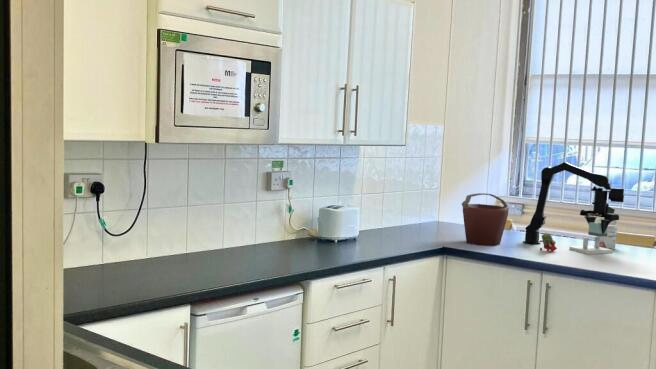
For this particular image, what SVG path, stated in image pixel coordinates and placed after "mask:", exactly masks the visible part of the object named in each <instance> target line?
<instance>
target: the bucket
mask: <svg viewBox="0 0 656 369" xmlns="http://www.w3.org/2000/svg"><path fill="white" fill-rule="evenodd" d="M482 195H483V196H490V197H493V198H495V199H496V200H498V201H500V203H501V204H502V206H501V205H495V204H482V203H481V204H480V203H470V202H471V199H472V198H473V197H476V196H482ZM461 207H462V215H463V216H462V217H463V226H464V233H465V242H466V244H469V245H473V246H474V245H475V246H478V247H481V246H482V247H496V246H499V245H501V241H502V239H503V235H504V231H505V227H506V224H507V220H508V217H509V208H508V204H507V203H506V201H505V200H504V199H502V198H500V197H499V196H496V195H494V194H492V193H485V192H484V193H481V192H480V193H478V192H477V193H471V194H468V195H466V197H465V200H464V201H463V202H461Z"/></svg>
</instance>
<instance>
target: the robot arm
mask: <svg viewBox="0 0 656 369" xmlns="http://www.w3.org/2000/svg"><path fill="white" fill-rule="evenodd" d="M564 171H566V172H569V173H571V174H573V175H576V176H578V177H580V178H583V179H586V180H588V181H589V182H591V183H592V184H594V185H595V186H593V188H591V189H590V191H591V192H594V196H593V197H594V199H593V201H592V202H591V205H593V209H581V210H580V211H579V216H583V217H584V218H585V220H586V221H587V225H589V222H596V219H597V218H604V219H603V220H601V228H602V233H603V234H604V233H605V231H606V229H607V227H608V225H609V223H610V222H612V221H614V220H616V221H620V215H619V214H617V213H615V211H616V209H615V208H612V207H611V206H610V205H609V203H608V200H610V202H612V203H622V204H623V203H624V202H625V201H624V200H625V188H623V187H622V188H621V187H619V188H617V187H613V186H612V185H611V184H610V183H609V181H610V179H609V177H608V176H606V175H605V174H601V173H597V172H596V173H595V172H591V171H588V170H586V169H583V168H580V167H578V166H576V165H573V164H570V163H569V162H566V161H565V162H562V163H560V164H557V165H555V166H545V167H544V168H543V169H542V170H541V175H540V176H541V177H540V178H541V179H540V180H541V185H540V189H539V190H540V191H539V194H538V199H537V203H536V208H535V211H534V213H533V215H532V218H531V220H530V221H529V222H530V223H529V224H528V225H527V226H526V227H525V236H524V237H525V238H524V240H523V241H522V243H526V244H528V245H541V244H542V242H539V241H540V229H541V228H543V226H544V225H546V219H547V215H545V209H546V203H547V200H548V195H549V190H550V187H551V186H550V185H551V184H552V183H553V179H554V177H555V175H556V174H558V173H559V174H560V173H561V172H564Z"/></svg>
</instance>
